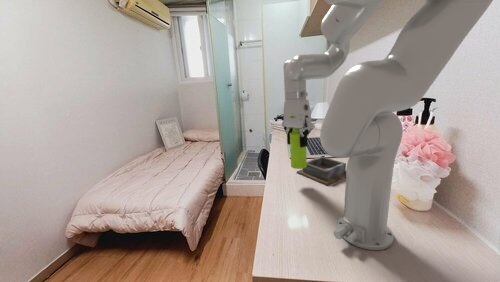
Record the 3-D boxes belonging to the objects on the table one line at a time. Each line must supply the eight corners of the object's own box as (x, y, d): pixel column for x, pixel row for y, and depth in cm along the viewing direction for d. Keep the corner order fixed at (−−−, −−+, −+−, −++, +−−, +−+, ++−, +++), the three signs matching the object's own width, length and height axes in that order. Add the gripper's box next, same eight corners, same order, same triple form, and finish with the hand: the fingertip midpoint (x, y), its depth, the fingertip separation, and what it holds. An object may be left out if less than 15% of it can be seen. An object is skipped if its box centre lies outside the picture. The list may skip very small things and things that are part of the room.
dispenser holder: (327, 185, 78) (327, 174, 77) (296, 173, 92) (296, 162, 90) (352, 174, 86) (352, 163, 85) (320, 164, 100) (320, 154, 99)
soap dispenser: (286, 167, 79) (284, 115, 75) (296, 162, 84) (294, 113, 79) (299, 170, 75) (298, 116, 71) (309, 165, 80) (308, 113, 75)
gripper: (322, 94, 68) (322, 147, 72) (286, 96, 83) (288, 140, 87) (306, 96, 65) (307, 151, 69) (272, 98, 79) (274, 143, 83)
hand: (297, 144), depth 78 cm, fingers closed on soap dispenser, 5 cm apart
